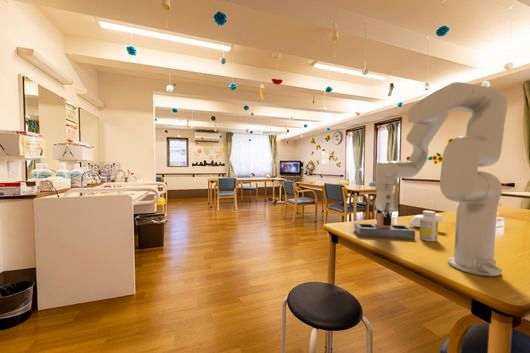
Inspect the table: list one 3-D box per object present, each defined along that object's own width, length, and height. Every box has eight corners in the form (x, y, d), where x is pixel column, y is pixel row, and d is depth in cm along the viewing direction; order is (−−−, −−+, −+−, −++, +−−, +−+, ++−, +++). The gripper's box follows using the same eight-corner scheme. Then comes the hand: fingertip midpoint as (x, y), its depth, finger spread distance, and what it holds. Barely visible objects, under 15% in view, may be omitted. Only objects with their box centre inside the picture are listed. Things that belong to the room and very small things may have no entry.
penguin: (411, 233, 122) (444, 228, 111) (405, 217, 124) (437, 212, 113) (416, 230, 127) (448, 226, 116) (411, 215, 129) (441, 210, 118)
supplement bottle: (431, 237, 105) (432, 210, 104) (440, 242, 98) (442, 213, 98) (416, 236, 106) (417, 209, 105) (424, 241, 99) (425, 212, 98)
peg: (389, 236, 106) (390, 215, 105) (379, 236, 106) (380, 215, 106) (385, 233, 110) (386, 213, 110) (376, 233, 111) (377, 213, 110)
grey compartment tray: (414, 239, 102) (415, 230, 102) (359, 236, 105) (359, 228, 105) (404, 232, 112) (404, 225, 111) (354, 230, 115) (354, 222, 115)
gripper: (401, 189, 98) (399, 228, 99) (385, 186, 115) (384, 219, 116) (382, 189, 99) (381, 227, 100) (370, 185, 116) (369, 218, 117)
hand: (383, 222), depth 108 cm, fingers open, 9 cm apart
